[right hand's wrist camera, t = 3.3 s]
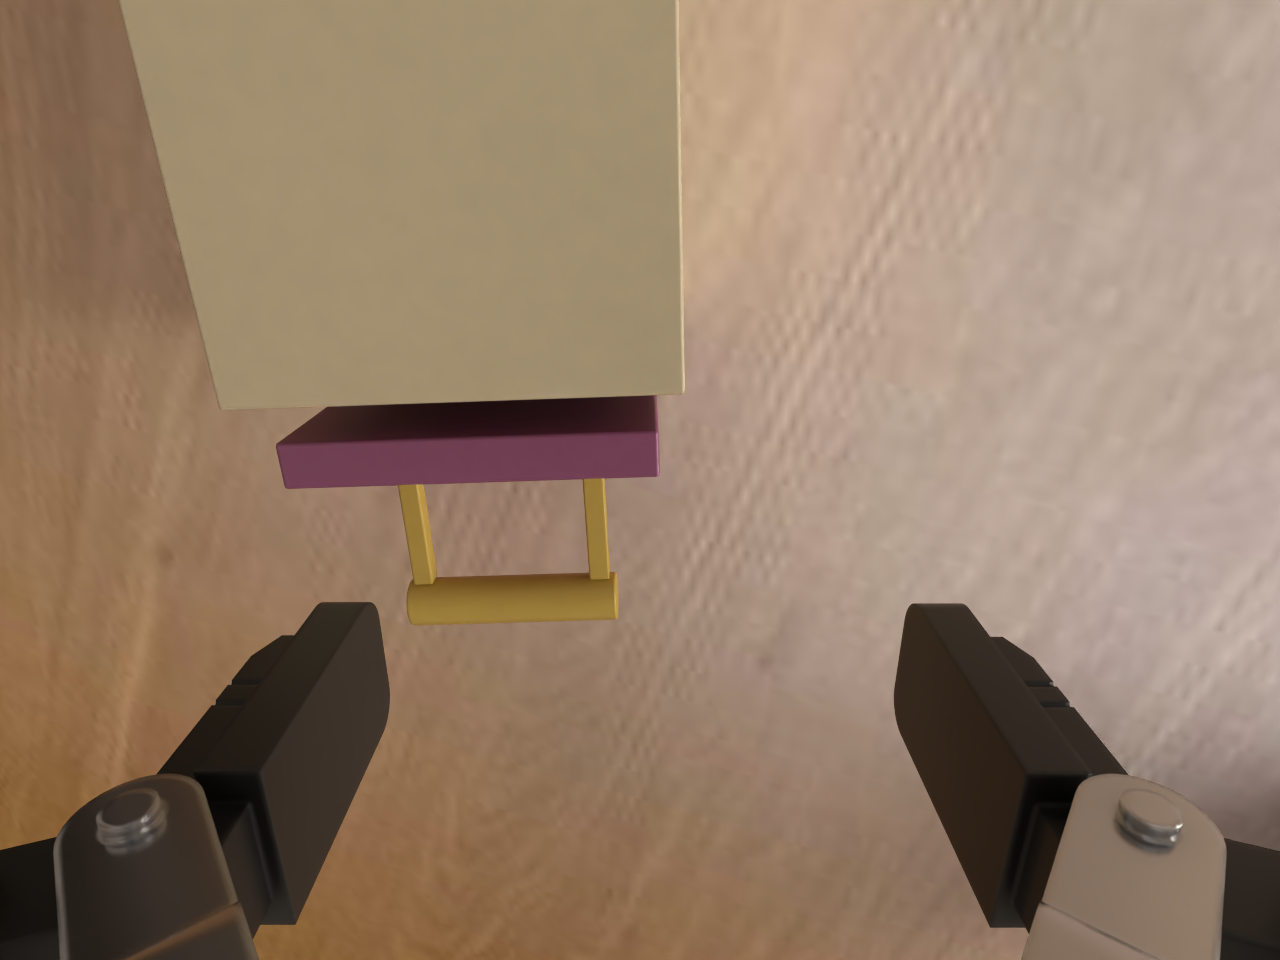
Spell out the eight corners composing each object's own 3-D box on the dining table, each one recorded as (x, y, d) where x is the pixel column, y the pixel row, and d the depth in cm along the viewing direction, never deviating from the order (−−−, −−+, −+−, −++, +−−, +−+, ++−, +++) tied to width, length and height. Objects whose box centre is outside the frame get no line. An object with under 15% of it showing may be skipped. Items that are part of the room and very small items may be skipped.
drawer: (659, 534, 30) (666, 684, 21) (421, 541, 30) (329, 693, 21) (631, -357, 20) (623, -766, 11) (283, -339, 20) (11, -727, 12)
